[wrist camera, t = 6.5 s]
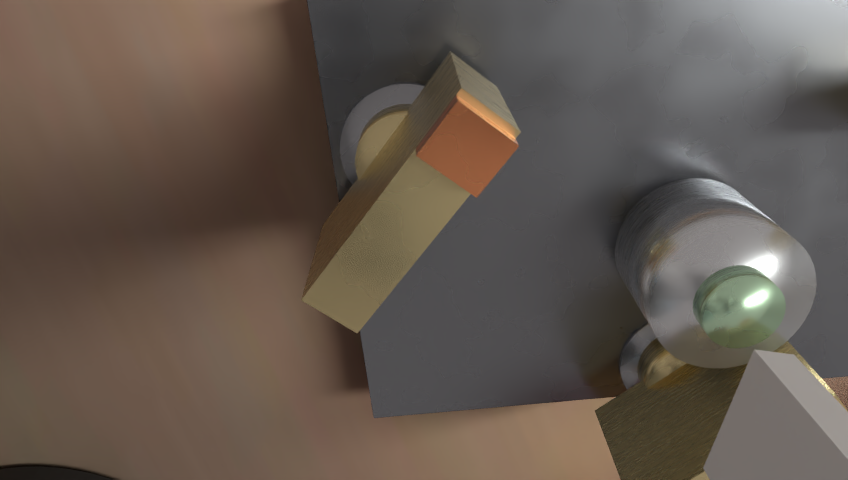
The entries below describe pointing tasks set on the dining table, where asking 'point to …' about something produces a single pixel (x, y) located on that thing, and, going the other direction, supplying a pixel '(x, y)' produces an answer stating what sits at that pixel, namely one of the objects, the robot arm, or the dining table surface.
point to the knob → (408, 188)
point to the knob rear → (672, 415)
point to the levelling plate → (609, 191)
